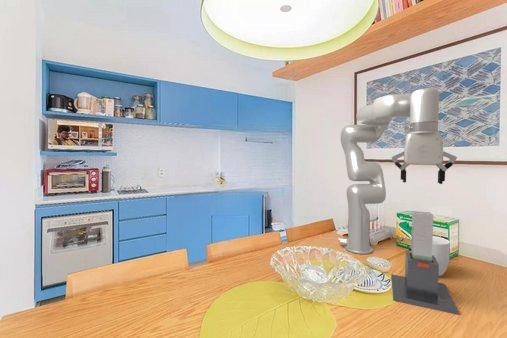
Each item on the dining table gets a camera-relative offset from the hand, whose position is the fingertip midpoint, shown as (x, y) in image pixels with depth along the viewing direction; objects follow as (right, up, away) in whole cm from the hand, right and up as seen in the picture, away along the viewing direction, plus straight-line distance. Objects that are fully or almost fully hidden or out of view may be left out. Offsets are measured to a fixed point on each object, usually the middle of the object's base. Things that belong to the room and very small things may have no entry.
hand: (421, 182), depth 81 cm
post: (0, -30, +1) cm, 30 cm away
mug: (+13, -36, +16) cm, 41 cm away
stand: (0, -36, +1) cm, 36 cm away
